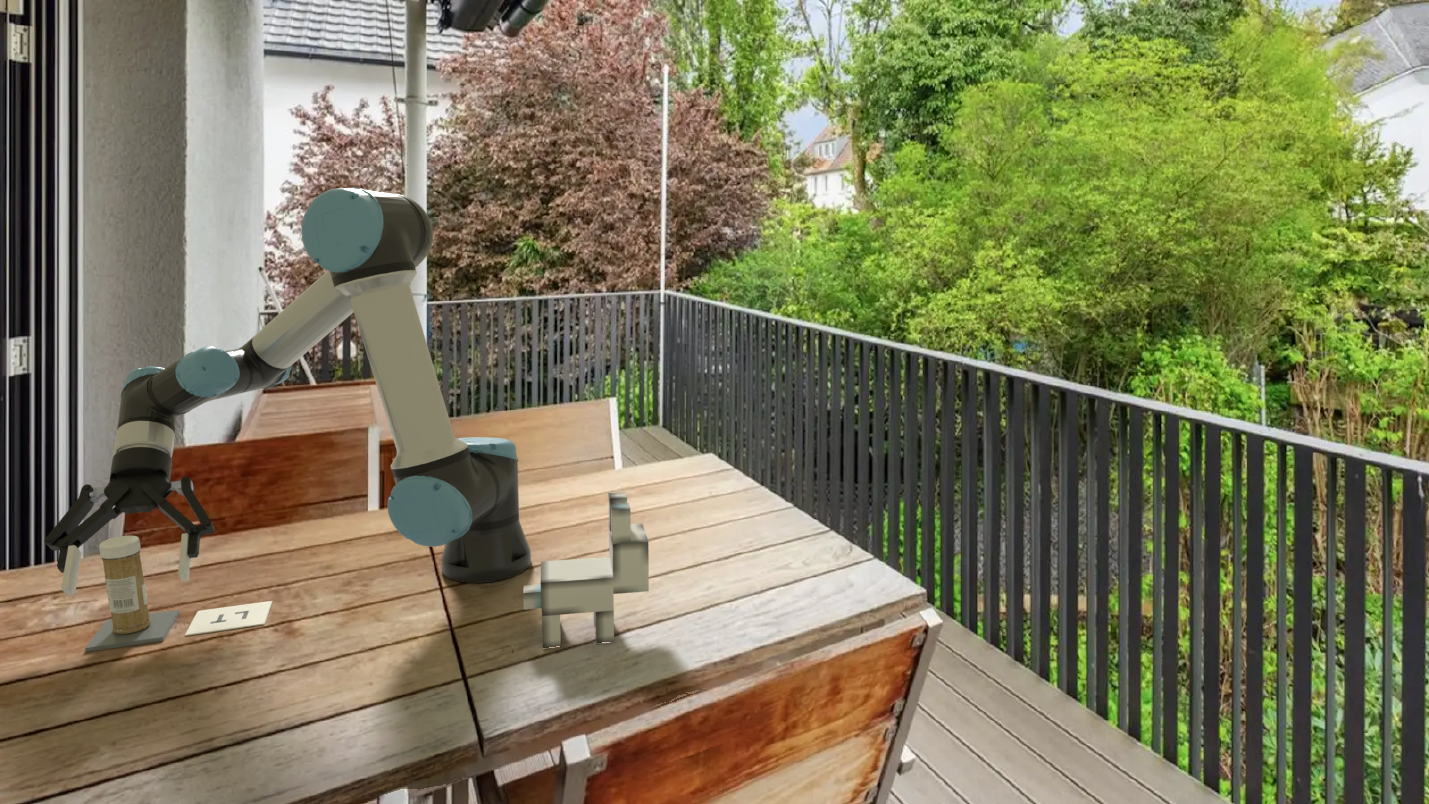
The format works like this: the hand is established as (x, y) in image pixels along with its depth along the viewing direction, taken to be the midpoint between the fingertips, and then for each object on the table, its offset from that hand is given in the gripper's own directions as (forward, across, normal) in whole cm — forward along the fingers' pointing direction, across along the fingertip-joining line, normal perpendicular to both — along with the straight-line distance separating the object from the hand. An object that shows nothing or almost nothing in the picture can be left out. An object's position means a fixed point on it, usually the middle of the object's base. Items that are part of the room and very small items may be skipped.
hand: (127, 585), depth 111 cm
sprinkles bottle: (+5, 0, -5) cm, 7 cm away
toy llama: (+22, -61, +11) cm, 66 cm away
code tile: (+5, -12, -5) cm, 14 cm away
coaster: (+5, 0, -5) cm, 7 cm away
